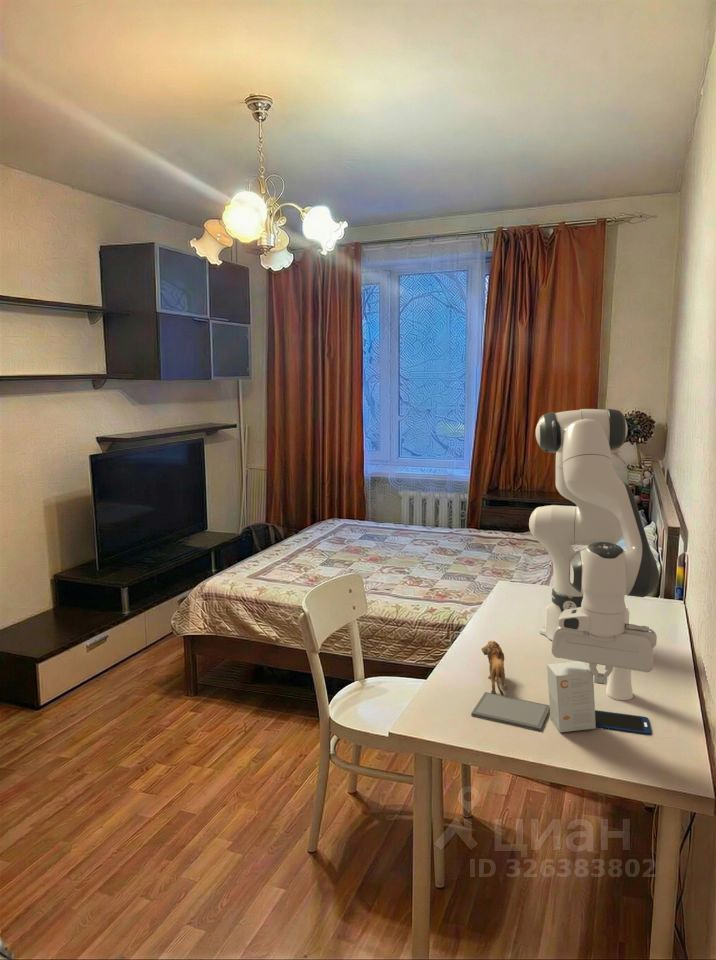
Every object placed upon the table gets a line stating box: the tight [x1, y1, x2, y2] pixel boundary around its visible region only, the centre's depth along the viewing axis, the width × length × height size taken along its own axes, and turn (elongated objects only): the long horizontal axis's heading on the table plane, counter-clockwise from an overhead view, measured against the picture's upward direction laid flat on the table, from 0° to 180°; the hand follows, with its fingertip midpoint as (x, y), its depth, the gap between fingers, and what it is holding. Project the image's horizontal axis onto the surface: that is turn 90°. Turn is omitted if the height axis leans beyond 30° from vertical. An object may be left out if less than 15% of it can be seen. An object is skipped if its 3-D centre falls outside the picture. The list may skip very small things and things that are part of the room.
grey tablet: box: [470, 691, 550, 732], centre depth 149 cm, size 11×16×1 cm
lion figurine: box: [481, 640, 508, 696], centre depth 163 cm, size 15×5×9 cm, turn 1°
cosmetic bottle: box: [605, 605, 634, 701], centre depth 155 cm, size 6×6×22 cm
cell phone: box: [595, 709, 653, 736], centre depth 144 cm, size 7×14×1 cm, turn 71°
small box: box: [546, 660, 597, 733], centre depth 142 cm, size 8×6×13 cm
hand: (600, 683), depth 139 cm, fingers closed
